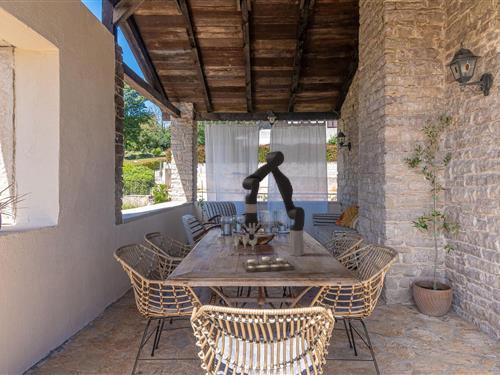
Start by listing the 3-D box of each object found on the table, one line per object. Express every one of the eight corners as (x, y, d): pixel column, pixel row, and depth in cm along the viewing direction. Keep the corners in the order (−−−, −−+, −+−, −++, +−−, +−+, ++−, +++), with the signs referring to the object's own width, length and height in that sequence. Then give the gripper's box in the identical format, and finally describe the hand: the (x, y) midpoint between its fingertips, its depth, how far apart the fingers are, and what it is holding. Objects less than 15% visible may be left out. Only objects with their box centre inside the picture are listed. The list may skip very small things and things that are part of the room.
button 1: (254, 262, 230) (254, 259, 230) (256, 264, 225) (256, 261, 225) (246, 262, 229) (246, 259, 229) (248, 264, 224) (248, 261, 224)
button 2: (283, 260, 234) (283, 257, 233) (285, 262, 229) (285, 259, 228) (275, 261, 233) (275, 258, 232) (277, 263, 228) (277, 260, 228)
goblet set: (216, 255, 260) (216, 236, 259) (217, 253, 265) (217, 235, 265) (257, 255, 261) (257, 236, 260) (256, 253, 266) (256, 234, 266)
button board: (285, 263, 238) (285, 256, 237) (293, 269, 222) (293, 262, 222) (241, 265, 232) (241, 259, 232) (246, 272, 217) (246, 265, 216)
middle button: (269, 259, 232) (269, 256, 232) (271, 261, 227) (271, 258, 227) (261, 260, 231) (261, 256, 231) (263, 261, 226) (262, 258, 226)
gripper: (260, 210, 231) (260, 238, 231) (239, 211, 228) (239, 239, 229) (263, 211, 223) (263, 240, 224) (241, 212, 221) (241, 241, 222)
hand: (251, 240), depth 227 cm, fingers closed
